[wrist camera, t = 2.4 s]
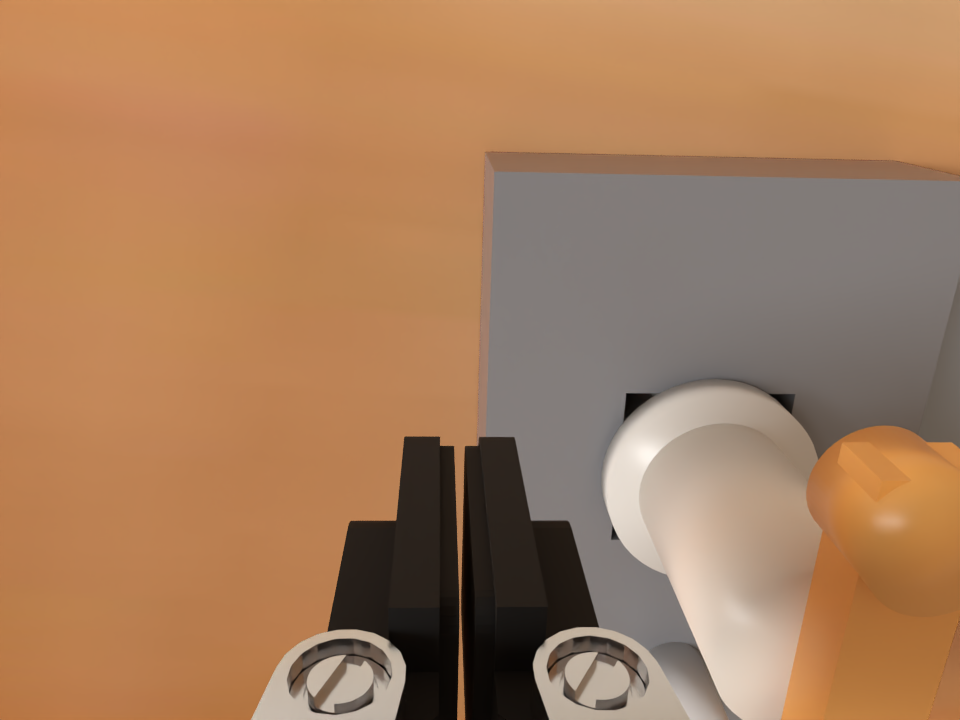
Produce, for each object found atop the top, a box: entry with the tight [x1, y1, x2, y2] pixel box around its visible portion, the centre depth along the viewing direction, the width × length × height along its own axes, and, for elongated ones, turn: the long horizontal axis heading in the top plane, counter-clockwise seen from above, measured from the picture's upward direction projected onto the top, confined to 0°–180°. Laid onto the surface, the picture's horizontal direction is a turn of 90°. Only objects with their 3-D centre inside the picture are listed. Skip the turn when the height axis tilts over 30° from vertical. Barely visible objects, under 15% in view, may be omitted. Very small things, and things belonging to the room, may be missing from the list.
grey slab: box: [477, 152, 960, 720], centre depth 23 cm, size 22×12×8 cm, turn 178°
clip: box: [781, 426, 960, 720], centre depth 16 cm, size 13×2×6 cm, turn 178°
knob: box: [601, 379, 823, 720], centre depth 20 cm, size 6×6×11 cm
